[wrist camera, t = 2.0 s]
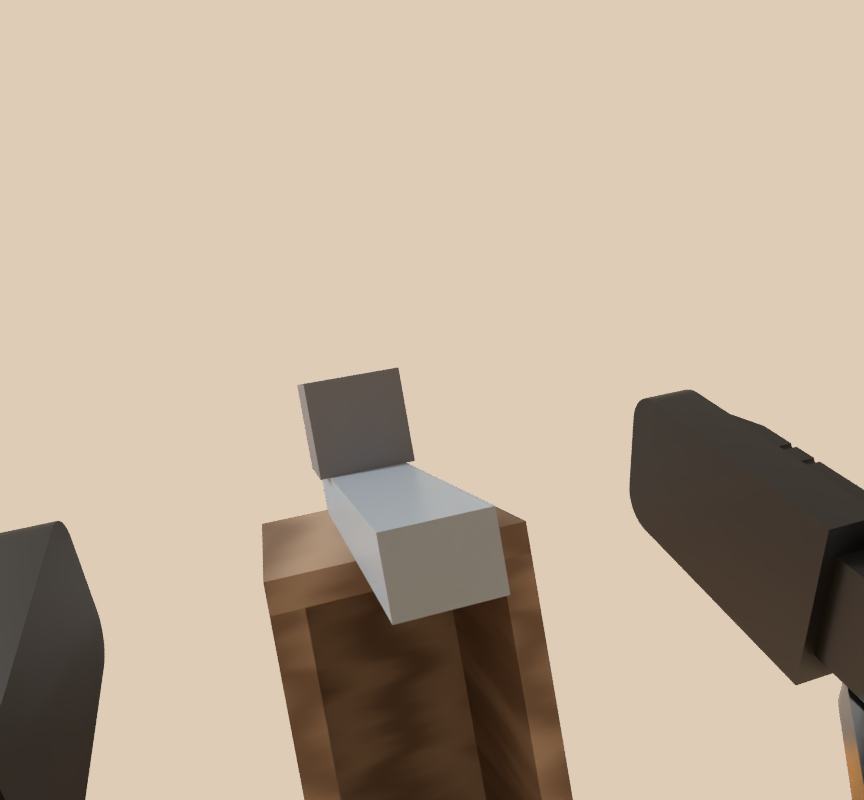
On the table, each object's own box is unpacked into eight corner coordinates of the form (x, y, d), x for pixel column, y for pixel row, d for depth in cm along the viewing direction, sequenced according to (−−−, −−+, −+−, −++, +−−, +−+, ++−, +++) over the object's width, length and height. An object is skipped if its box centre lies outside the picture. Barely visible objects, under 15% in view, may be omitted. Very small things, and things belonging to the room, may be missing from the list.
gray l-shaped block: (377, 629, 23) (332, 378, 22) (320, 514, 44) (296, 385, 44) (524, 591, 24) (484, 352, 24) (399, 497, 45) (377, 371, 45)
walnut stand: (386, 1235, 32) (263, 582, 31) (349, 985, 46) (262, 524, 44) (627, 1126, 35) (525, 521, 34) (524, 921, 49) (448, 483, 47)
